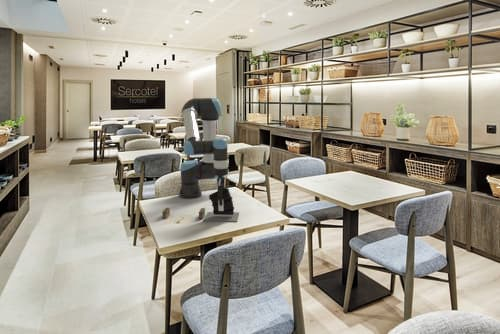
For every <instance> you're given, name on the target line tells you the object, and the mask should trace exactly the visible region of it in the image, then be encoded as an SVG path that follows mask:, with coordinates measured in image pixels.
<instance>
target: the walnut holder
mask: <svg viewBox="0 0 500 334" xmlns="http://www.w3.org/2000/svg"><path fill="white" fill-rule="evenodd" d="M170 211H171V210H170V207H165V208H164V209H163V210H162V212H161V213H162V220H167V219H168V217H169V216H170V214H171V213H170ZM205 216H206V208H204V207H202V208H200V209H199V211H198V219H199V220H204V218H205Z"/></svg>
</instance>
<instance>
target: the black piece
mask: <svg viewBox="0 0 500 334" xmlns="http://www.w3.org/2000/svg"><path fill="white" fill-rule="evenodd" d="M217 198H218V191H217V190H216V191H215V192H213V193H210V194H209V195H208V199H209V200H210V201H211V204H212V205H211V206H212V209H213V210H212V212H214V215H233V214H234V212H235V206H234V201H233V196H232V195H231V192H230V188H228V186H225V188H223V201H224V211H219V208H218V200H217Z"/></svg>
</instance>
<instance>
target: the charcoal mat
mask: <svg viewBox="0 0 500 334" xmlns="http://www.w3.org/2000/svg"><path fill="white" fill-rule="evenodd" d="M239 217H240V212H238V211H237V212H235V211H234V214H233V215H214V212H213V211H207V213H206V214H205V216H204V218H203V219H202V220H203V221H202V222H205V223H207V222H208V223H212V222H215V223H216V222H217V223H218V222H219V223H221V222H222V223H237V222H238V220H239Z"/></svg>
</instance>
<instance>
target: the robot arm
mask: <svg viewBox="0 0 500 334" xmlns="http://www.w3.org/2000/svg"><path fill="white" fill-rule="evenodd" d="M221 116H222V107H221V103H220V100H219V99H218V98H214V97H213V98H212V97H205V98H204V97H199V98H197V97H195V98H190V99H189V100H188V101H186V102H185V103H184V105H183V106H182V109H181V118H182V120H183V121H184V123H183V124H184V130H185V131H184V132H185V139H186V141H183V152H184V155H185V156H198V155H199V156H201V155H202V156H203V157H202V158H201V159H200V162H199V161H198V160H195V159H194V160H187V161H184V162H182V163H181V164H180V170H179V171H180V188H179V192H178V197H179V198H182V199H196V198H200V197H201V196H202V195H203V191H202V189H201V186H200V183H199V181H203V180H216V185H217V187H216V189H217V190H216V192H217V191H218V198H217V200H218V208H219V211H224V201H223V188H225V187H226V186H225V185H226V184H225V183H226V177H225V176H227V175H228V174H229V170H228V166H229V162H228V161H229V160H228V159H229V158H228V146H229V145H228V140H227V139H226V138H224V137H223V138H221V137H220V138H219V137H218V138H217V122H218V121H219V119H220V117H221ZM198 118H200V121H201V122H202V132H203V133H202V139H203V140H201V136H200V131H199V125H198V120H197V119H198Z"/></svg>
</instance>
